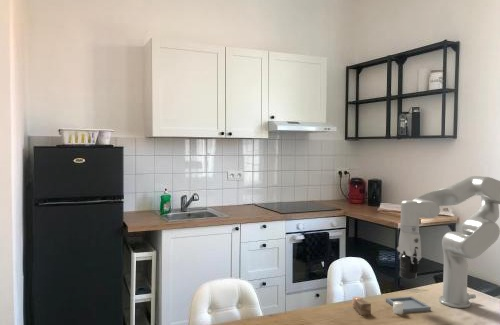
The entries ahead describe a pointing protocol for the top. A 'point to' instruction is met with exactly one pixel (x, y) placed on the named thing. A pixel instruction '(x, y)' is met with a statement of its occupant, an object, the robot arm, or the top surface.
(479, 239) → the robot arm
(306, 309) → the top surface
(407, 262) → the supplement bottle
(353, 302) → the peach rounded dome
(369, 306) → the walnut block
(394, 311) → the white egg
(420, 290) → the top surface
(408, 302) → the tray
